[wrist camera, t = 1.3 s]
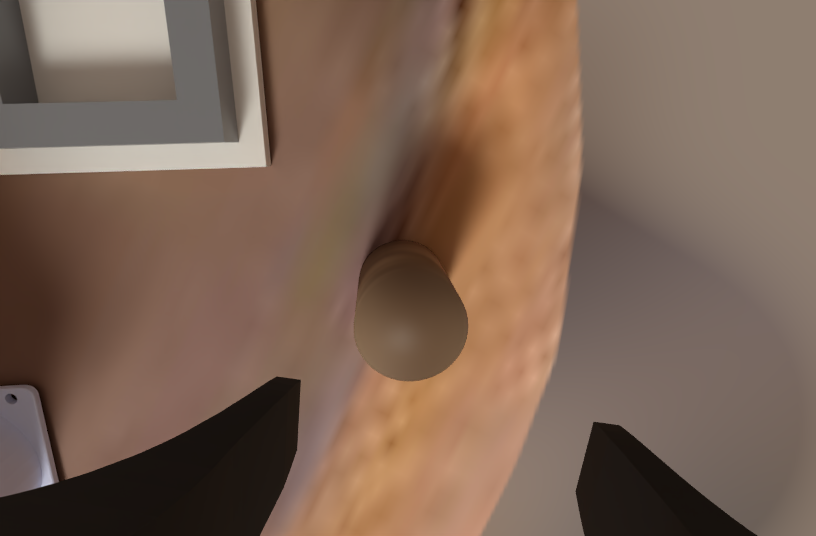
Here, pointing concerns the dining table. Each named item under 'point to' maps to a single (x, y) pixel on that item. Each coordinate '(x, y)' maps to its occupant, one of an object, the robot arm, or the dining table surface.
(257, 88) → the socket block
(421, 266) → the peg
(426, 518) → the dining table surface
